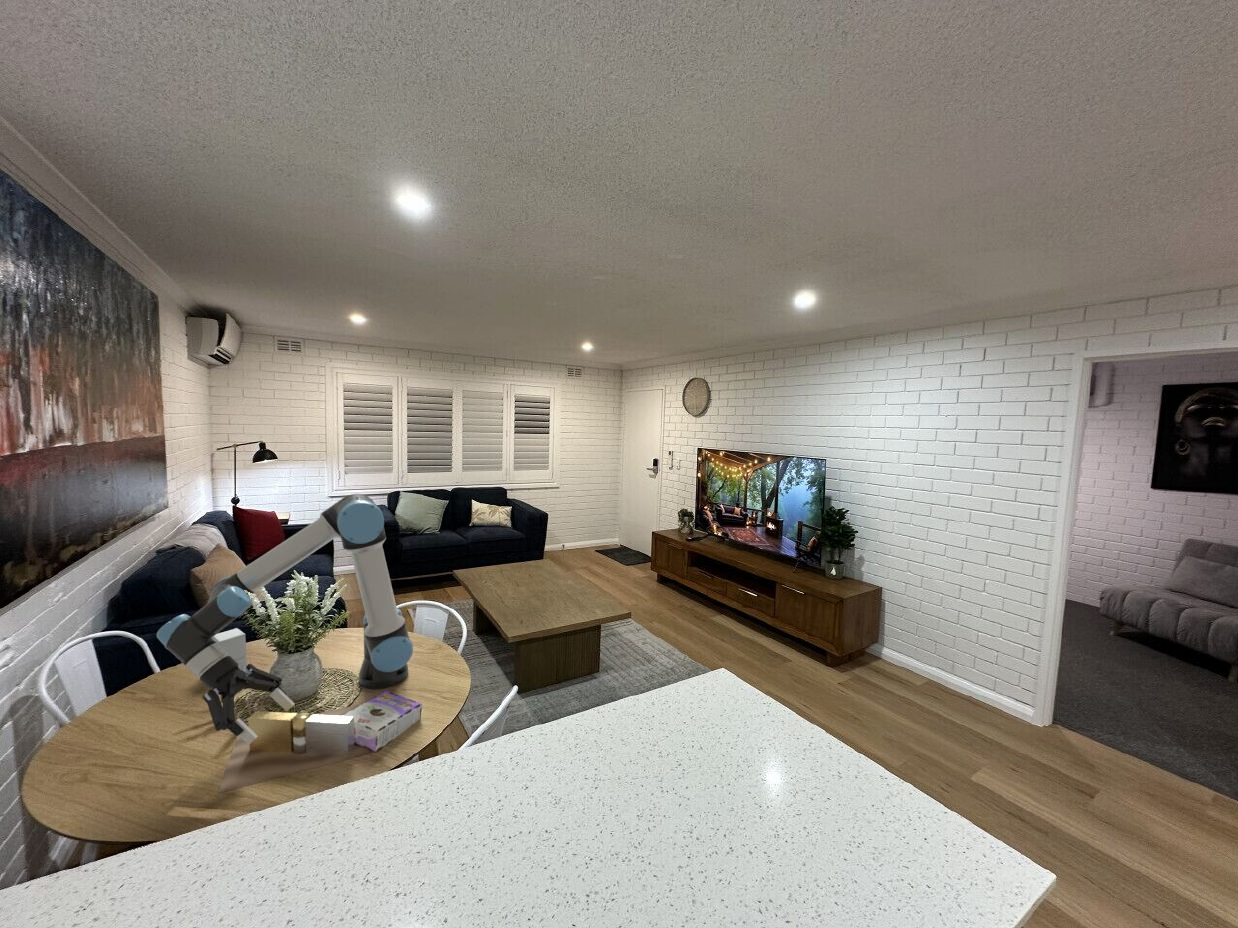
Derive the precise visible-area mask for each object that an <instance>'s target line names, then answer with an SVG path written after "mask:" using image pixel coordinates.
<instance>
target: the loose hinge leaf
mask: <svg viewBox="0 0 1238 928" xmlns="http://www.w3.org/2000/svg"><path fill="white" fill-rule="evenodd" d="M310 715H311V713H309V712H301V713H297V712H283V711H282V712H280V711H279V712H278V711H263V710H261V711H260V710H259V711H258V710H257V711H255V712H254V713H252V714H251V715H250V716H249V717H248V719H247V720H248V723H247V725H248V727H249V728H250V729H251V730H252V731H253V732H254V733H255V734H256V735H257V736H258V737H257V738H256V739H255V740H254V741H252V742H251V743H250V744H249V745H250V751H268V752H287V753H292V752H293V751H294V748H293V736H294V737H302V736H305V735H306V728H305V721H306V720H307V719H308V718H309V717H310Z"/></svg>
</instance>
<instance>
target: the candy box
mask: <svg viewBox="0 0 1238 928" xmlns="http://www.w3.org/2000/svg"><path fill="white" fill-rule="evenodd" d="M361 704H362V705H360V706H358V707H356V708H354V709H352V710H351V711H349V712H347V713H345V714H344V715H342V716H352V717H354V743H356V744H359V745H361V746H364V747H366V748H368V749H371V750H372V752H373V751H374V752H377V751H379V750H380V749H382V748H383V747H384V746H386V745H388V744H389V743H390V742H392V741H393V740H394V739H396V738H398V736H400V735H401V734H403V732H405V731H406V730H408V729H409V728H410V727H411V726H413V725H414V724H415V723H417V722H418V721H419V720H420V719H421V717H422V709H423V704H422V703H420V702H419V701H414V700H413V699H409V698H407V697H405V696H402V695H398V694H396V693H393V692H390V691H388V690H385V691H383V692H381V693H379V694H378V695H376V696H374V697H372V698H371V699H368V700H367V701H365V702H363V703H361Z"/></svg>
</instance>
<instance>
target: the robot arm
mask: <svg viewBox="0 0 1238 928" xmlns="http://www.w3.org/2000/svg"><path fill="white" fill-rule="evenodd" d="M384 526H385V517H384V514H383V511H382V510H381V508H380V506H378V505H377V504H376V503H375V502H374V500H373V499H372V498H371V497H369V496H367V495H366V494H362V493H361V494H360V493H353V494H349V495H346V496H344V497H342V498H341V499H339V500H338V501H337V502H335V503H333V504H332V505H331V506H330V507H328V508H327V509H325V510H323V511H322V512H321V513H320V514H319V518H318V519H316V520H315V521H313V522H312V523H310V524H309V525H306V526H305V527H304V528H302V529H301V530H299V531H297V532H296V533H295V534H293V535H292V536H290V537H288V538H287V539H286V540H284V541H282V542H281V543H280V544H278V545H276V546H275V547H274V548H271V550H269V551H267V552H266V553H264V554H263V555H262V556H260V557H258V558H257V559H255V560H254V561H252V562H251V563H248V564H247V565H246V566H245V567H243V568H241V569H240V570H239V571H237V572H236V573H234V574H232V575H231V576H227V577H223V578H222V579H220V580H219V581H217V583H215V584H214V586H213V587H212V589H211V590H210V591H211V593H210V596H209V598H208V600H207V603H206V604H205V605H204V606H202V607H201V608H200V609H199V610H197V611H196V612H195V613H194V614H192V615H191V616H190V615H188V614H186V613H183V614H179V615H177V616H175V617H173V618H172V619H171V620H169V621H168V622H166V623H164V625H162V626H161V627H160V628H159V629H158V631H157V632H156V638H157V639H158V641H159V642H160V643H161V644H162V645H163V647H164V648H165V649H166V650H167V651H169V652H170V653H171V654H172V655H174V656H175V658H177V659H178V660H179V662H181V663H182V664H183V665H184V666H185V667H186V668H187V669H188V670H189V671H191V673H192V674H193V675H194V676H196V677H199V681H201V683H203V684H204V686H205V687H207V688H209V690H208V691H207V692H205V694H204V695H203V696H202V699H203V700H204V701H205V703H206V704H207V706H208V710H209V713H210V716H211V720H212V723H213V726H214V729H215V731H217V732H220V731H221V730H222V731H225V730H226V729H228V730H229V731H230V732H231V733H232V734H233V735H234V736H236V737H237V736H238V735H239V736H240V737H241V738H242V739H243V740H244V741H245V742H246V743H247V744H248V745H249V744H250V743H251V742H252V741H254V740H255V739H256V738H257V737H258V736H257V735H256V734H255V733H254V732H253V731H252V730H251V729H250V728H249V725H248V724H246V723H245V722H244V720H242V719H241V718H240V717H239V718H237V719H236V713H235V712H236V710H235V709H236V708H235V696H236V695H237V694H238V693H241V691H243V690H247V689H250V690H256V691H260V692H261V691H262V692H267V693H270V694H269V696H270V697H271V698H272V699H273V700H274V701H275V702H276V703H277V704H278V705H279V706H280V707H281V708H282V709H283V710H284V711H285V713H288V712H289V710H290V709H292V707H293V706H295V702H294V701H293V700H292V699H291V698H290V697H289V696H288V694H287V692H285V691H284V689H282V688H281V685H282V682H283V679H282V677H279V676H276V675H274V674H272V673H270V672H267V671H265V670H262V669H260V668H257V667H255V665H254V664H252V663H247V666H246V667H245V668H244V669H243V670H241V669H239V668H238V663H237V662H236V661H235V660H234V659H233V658H232V657H231V656H226V655H227V652H226V651H225V650H223V649H222V648H221V647H220V646H219V645H218V644H217V643H216V642H215V641H214V640H213V639H212V637H213V636H215V635H216V634H219V633H221V631H222V630H223V629H225V628H226V627H227V626H228V625H230V624H231V623H232V622H233V621H235V620H236V619H238V618H239V617H240V616H241V615H243V614H244V613H245V611H247V610H248V609H249V608H250V607H251V606H252V604H253V600H252V598H251V595H252V594H255V593H256V592H257V591H259V590H260V589H261V588H263V587H264V586H266V585H268V584H269V583H270V582H272V581H274V580H275V579H276V578H278V577H279V576H281V575H282V574H284V573H285V572H287V571H288V570H290V569H291V568H292V567H294V566H296V565H297V564H298V563H300V562H301V561H302V562H303V560H304V559H307V558H308V557H309V556H311V554H313V553H315V552H317V550H319V549H321V548H322V547H324V546H325V545H327V544H328V543H329V542H331V541H332V540H334V539H335V538H337V539H338V538H339V539H341V540H340V541H341V543H342V549H343V550H345V551H347V552H349V553H350V556H351V559H352V563H353V568H354V571H355V576H356V579H357V584H358V585H357V586H358V588H359V592H360V595H361V601H362V604H363V608H364V613H365V615H364V616H363V622H362V625H363V652H364V653H363V660H362V662H361V663H362V664H361V666H360V669H359V673H358V683H359V685H360V686H361V687H363V688H365V689H366V688H367V689H371V690H375V689H383V688H384V689H385V688H389V687H391V686H395V685H397V684H399V683H401V682H403V681H404V680H405V679H406V678H407V676H408V675H409V665H408V662H409V661H410V660H411V658H412V656H413V652H414V645H413V642H412V640H411V639H410V635H409V632H408V627H407V623H406V619H405V618H404V616H403V614H402V610H401V609H400V608H398V607H397V603H396V599H395V595H394V590H393V587H392V581H391V578H390V573H389V569H388V565H387V564H388V563H387V561H386V556H385V551H384V548H383V545H384V543H385V541H386V539H387V535H386V532H385V530H386V529H385V527H384ZM244 590H247V591H248V592H250V593H252V594H251V595H250V596H249V595H248V593H246V592H245V591H244Z"/></svg>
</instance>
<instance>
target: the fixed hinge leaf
mask: <svg viewBox="0 0 1238 928" xmlns="http://www.w3.org/2000/svg"><path fill="white" fill-rule="evenodd" d="M316 714H317V713H312V714H310V715H311V716H310V717H309V718H308V719H307V720H306V721H305V728H306V735H305V736H302V737H294V736H293V748H294V754H296V755H301V754H304V753H306V754H318V755H335V756H349V755H350V753H351V752H352V751H353V750H354V748H355V746H354V717H352V716H334V715H316Z"/></svg>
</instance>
